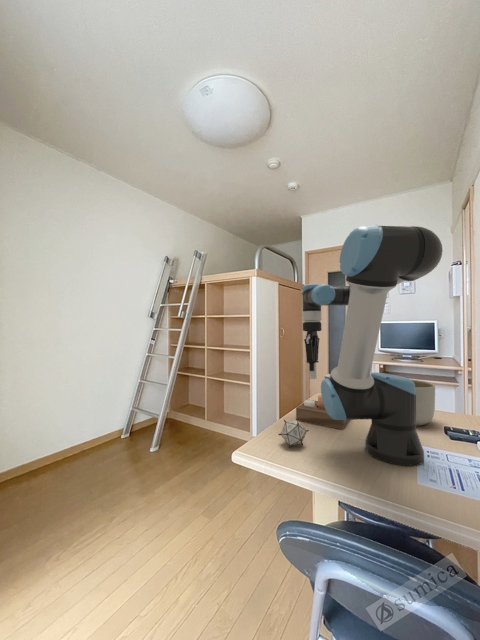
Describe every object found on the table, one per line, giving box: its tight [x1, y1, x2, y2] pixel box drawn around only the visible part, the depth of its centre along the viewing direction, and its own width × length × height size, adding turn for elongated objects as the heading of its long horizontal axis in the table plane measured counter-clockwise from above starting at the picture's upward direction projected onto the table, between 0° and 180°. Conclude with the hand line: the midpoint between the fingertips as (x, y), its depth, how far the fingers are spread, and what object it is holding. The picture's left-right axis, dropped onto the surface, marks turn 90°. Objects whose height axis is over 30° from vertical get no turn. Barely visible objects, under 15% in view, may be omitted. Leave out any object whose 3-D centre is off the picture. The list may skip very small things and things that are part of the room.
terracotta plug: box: [317, 395, 325, 409], centre depth 110 cm, size 4×4×6 cm
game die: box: [278, 418, 310, 449], centre depth 87 cm, size 9×8×10 cm
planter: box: [411, 379, 436, 427], centre depth 108 cm, size 17×17×15 cm
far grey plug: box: [303, 399, 316, 407], centre depth 114 cm, size 4×4×6 cm
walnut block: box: [295, 399, 350, 430], centre depth 110 cm, size 14×18×5 cm
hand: (312, 378), depth 113 cm, fingers closed
